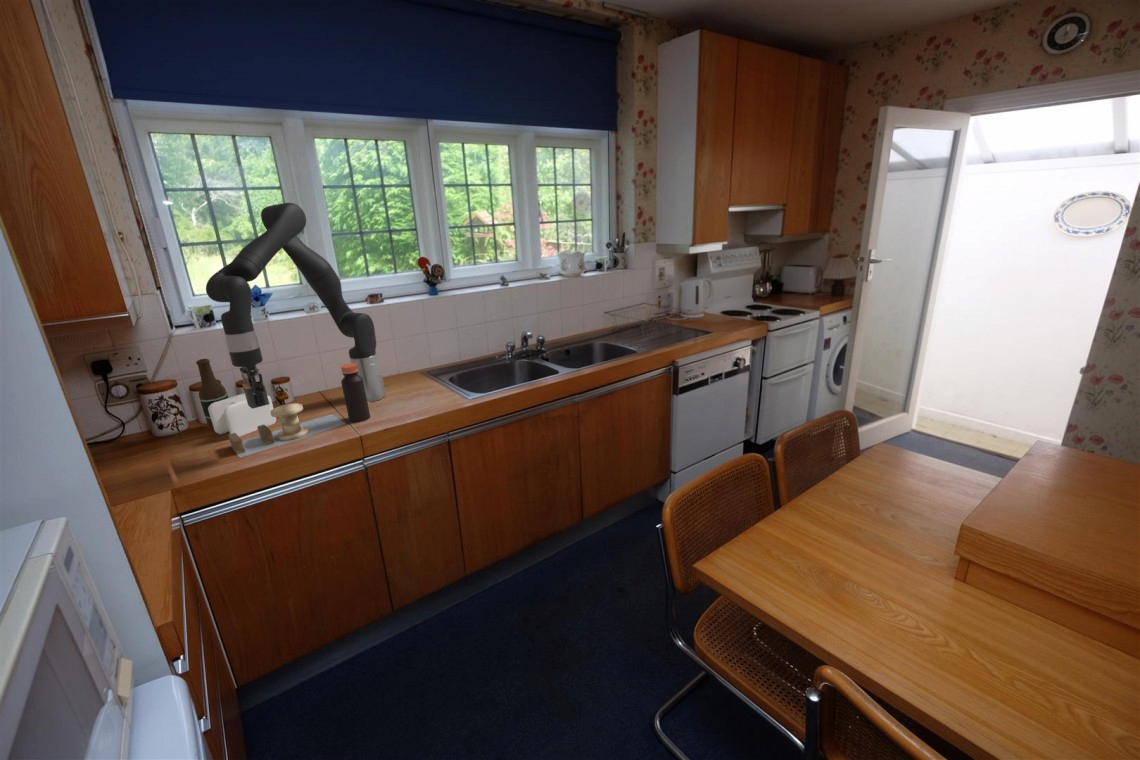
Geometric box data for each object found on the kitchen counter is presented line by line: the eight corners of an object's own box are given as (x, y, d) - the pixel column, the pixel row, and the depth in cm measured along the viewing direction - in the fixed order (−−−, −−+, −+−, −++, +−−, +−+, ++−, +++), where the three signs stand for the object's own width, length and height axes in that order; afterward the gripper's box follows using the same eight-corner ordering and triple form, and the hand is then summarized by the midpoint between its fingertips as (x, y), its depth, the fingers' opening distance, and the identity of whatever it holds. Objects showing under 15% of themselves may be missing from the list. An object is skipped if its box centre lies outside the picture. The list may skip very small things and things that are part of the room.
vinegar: (371, 415, 174) (361, 361, 167) (370, 423, 168) (358, 367, 161) (351, 419, 172) (339, 364, 166) (348, 426, 166) (336, 369, 159)
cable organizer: (232, 442, 158) (221, 409, 154) (215, 436, 164) (205, 404, 160) (278, 425, 170) (270, 393, 166) (261, 419, 176) (253, 389, 172)
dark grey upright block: (265, 400, 149) (259, 380, 147) (269, 404, 146) (264, 383, 144) (248, 405, 146) (242, 384, 144) (252, 408, 143) (246, 387, 141)
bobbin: (303, 426, 165) (297, 401, 162) (312, 433, 159) (306, 407, 156) (273, 435, 159) (266, 409, 157) (282, 443, 153) (275, 416, 150)
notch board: (267, 435, 160) (264, 424, 158) (274, 442, 154) (271, 431, 153) (231, 446, 153) (227, 434, 152) (237, 454, 148) (233, 442, 146)
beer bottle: (220, 421, 176) (200, 356, 168) (240, 421, 175) (221, 356, 167) (203, 431, 169) (181, 363, 161) (225, 430, 168) (204, 362, 160)
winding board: (332, 416, 175) (332, 414, 175) (346, 426, 166) (346, 423, 166) (230, 447, 155) (229, 444, 154) (240, 460, 146) (239, 457, 146)
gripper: (265, 348, 138) (280, 405, 143) (252, 341, 148) (266, 395, 153) (234, 354, 133) (250, 413, 138) (222, 346, 143) (238, 402, 148)
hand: (258, 403), depth 146 cm, fingers closed on dark grey upright block, 4 cm apart
